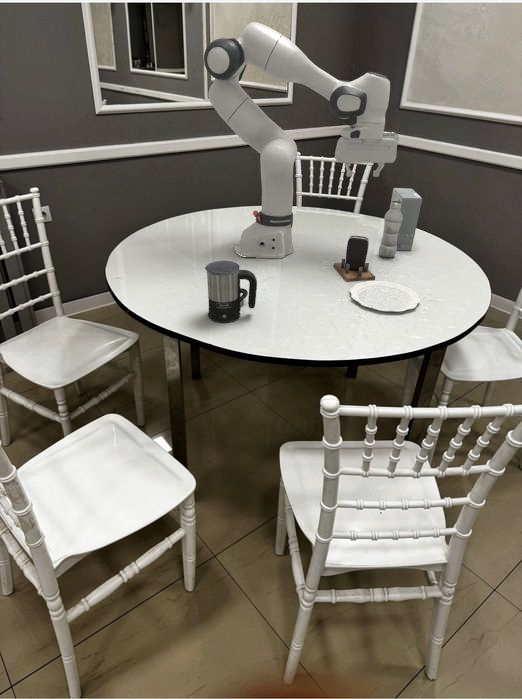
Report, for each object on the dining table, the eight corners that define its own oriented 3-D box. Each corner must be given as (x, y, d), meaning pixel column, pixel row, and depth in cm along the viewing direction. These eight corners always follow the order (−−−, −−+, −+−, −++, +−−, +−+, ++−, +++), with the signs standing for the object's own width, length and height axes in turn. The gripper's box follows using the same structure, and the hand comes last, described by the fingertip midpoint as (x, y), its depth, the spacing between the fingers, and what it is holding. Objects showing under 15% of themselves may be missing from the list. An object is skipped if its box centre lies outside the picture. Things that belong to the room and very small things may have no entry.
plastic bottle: (397, 254, 177) (407, 201, 166) (393, 260, 172) (404, 205, 161) (380, 251, 179) (389, 198, 168) (375, 257, 174) (385, 203, 163)
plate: (406, 322, 134) (407, 317, 133) (338, 303, 143) (339, 298, 142) (426, 296, 149) (427, 291, 148) (364, 279, 158) (365, 275, 157)
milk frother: (212, 325, 128) (211, 275, 120) (197, 300, 141) (194, 253, 133) (261, 317, 133) (262, 268, 125) (242, 294, 145) (242, 248, 137)
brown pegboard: (346, 281, 155) (348, 269, 153) (333, 266, 166) (334, 254, 164) (374, 279, 157) (376, 268, 155) (360, 264, 168) (362, 253, 165)
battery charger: (365, 268, 162) (370, 235, 156) (364, 272, 159) (369, 239, 153) (344, 265, 164) (349, 233, 157) (343, 269, 160) (348, 237, 154)
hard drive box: (411, 251, 180) (423, 198, 170) (391, 250, 181) (401, 198, 170) (402, 237, 194) (412, 187, 183) (383, 236, 194) (392, 187, 183)
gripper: (395, 130, 155) (387, 174, 162) (336, 129, 151) (330, 174, 159) (403, 133, 149) (395, 178, 157) (342, 132, 146) (336, 178, 154)
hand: (362, 176), depth 158 cm, fingers open, 8 cm apart
